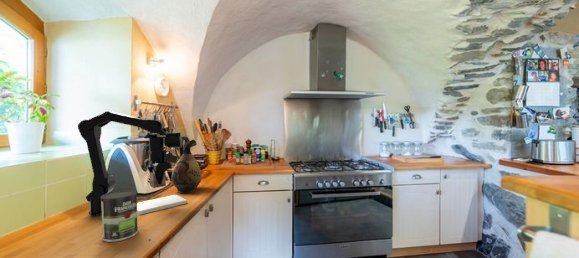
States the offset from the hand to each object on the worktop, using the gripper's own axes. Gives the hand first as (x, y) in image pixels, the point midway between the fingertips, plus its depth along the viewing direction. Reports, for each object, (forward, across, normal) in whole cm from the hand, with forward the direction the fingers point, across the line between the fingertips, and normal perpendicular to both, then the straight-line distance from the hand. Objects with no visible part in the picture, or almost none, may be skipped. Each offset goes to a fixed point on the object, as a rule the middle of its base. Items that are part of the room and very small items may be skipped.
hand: (157, 183), depth 116 cm
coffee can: (+11, -21, +18) cm, 30 cm away
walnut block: (+1, 0, 0) cm, 1 cm away
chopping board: (+11, +3, -1) cm, 11 cm away
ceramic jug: (+11, +18, -20) cm, 29 cm away
